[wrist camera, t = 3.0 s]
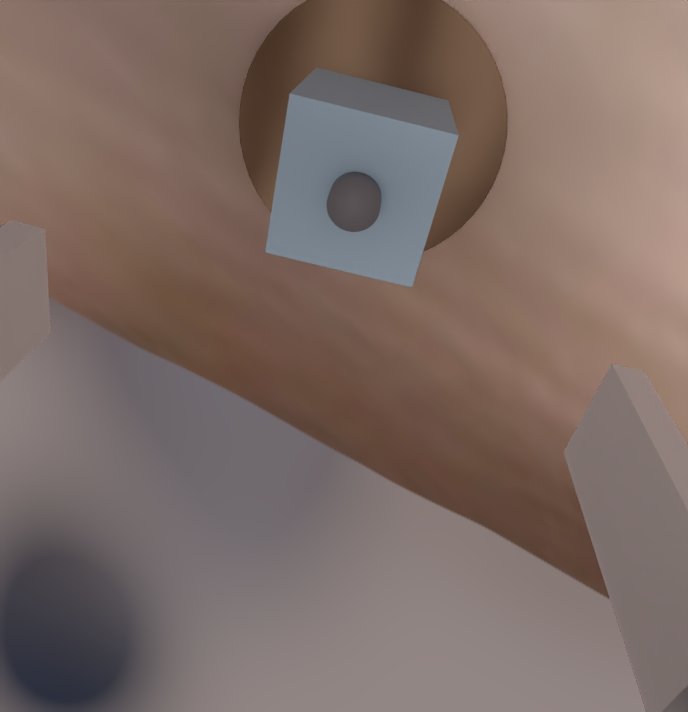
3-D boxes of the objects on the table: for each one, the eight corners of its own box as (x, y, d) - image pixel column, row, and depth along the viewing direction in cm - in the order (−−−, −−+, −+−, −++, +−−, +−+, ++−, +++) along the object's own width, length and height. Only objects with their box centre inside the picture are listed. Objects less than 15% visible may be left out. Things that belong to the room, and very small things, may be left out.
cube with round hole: (293, 198, 31) (259, 262, 24) (316, 67, 28) (284, 98, 21) (412, 226, 31) (412, 298, 24) (448, 100, 28) (460, 141, 21)
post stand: (229, 225, 36) (175, 299, 28) (261, -53, 29) (200, -64, 20) (457, 280, 37) (470, 369, 28) (548, 21, 29) (601, 39, 21)
